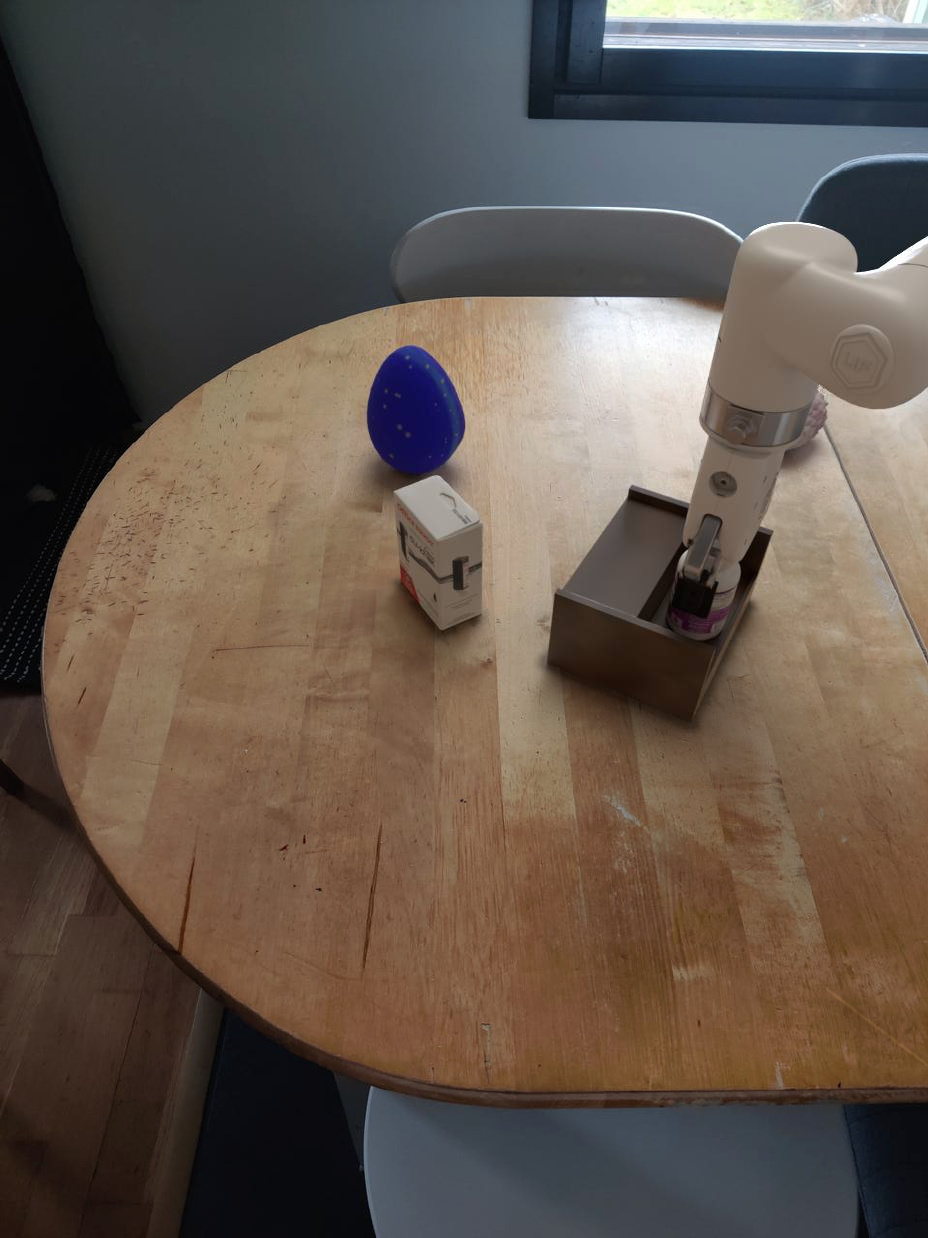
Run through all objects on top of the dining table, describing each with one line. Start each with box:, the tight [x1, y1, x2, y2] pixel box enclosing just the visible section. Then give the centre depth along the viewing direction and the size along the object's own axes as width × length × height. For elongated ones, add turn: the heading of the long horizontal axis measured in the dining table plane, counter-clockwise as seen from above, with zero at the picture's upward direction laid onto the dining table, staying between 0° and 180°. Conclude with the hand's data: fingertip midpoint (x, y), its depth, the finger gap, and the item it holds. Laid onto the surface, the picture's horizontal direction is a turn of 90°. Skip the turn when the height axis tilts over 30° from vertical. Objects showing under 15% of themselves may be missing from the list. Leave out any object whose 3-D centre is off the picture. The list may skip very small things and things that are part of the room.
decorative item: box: [785, 388, 829, 452], centre depth 102 cm, size 9×11×10 cm
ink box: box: [393, 475, 484, 631], centre depth 81 cm, size 8×5×12 cm, turn 31°
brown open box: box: [546, 484, 774, 723], centre depth 79 cm, size 14×18×9 cm
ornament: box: [366, 344, 466, 475], centre depth 96 cm, size 11×9×15 cm
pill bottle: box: [666, 540, 741, 640], centre depth 76 cm, size 5×5×10 cm
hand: (706, 580), depth 75 cm, fingers open, 7 cm apart
